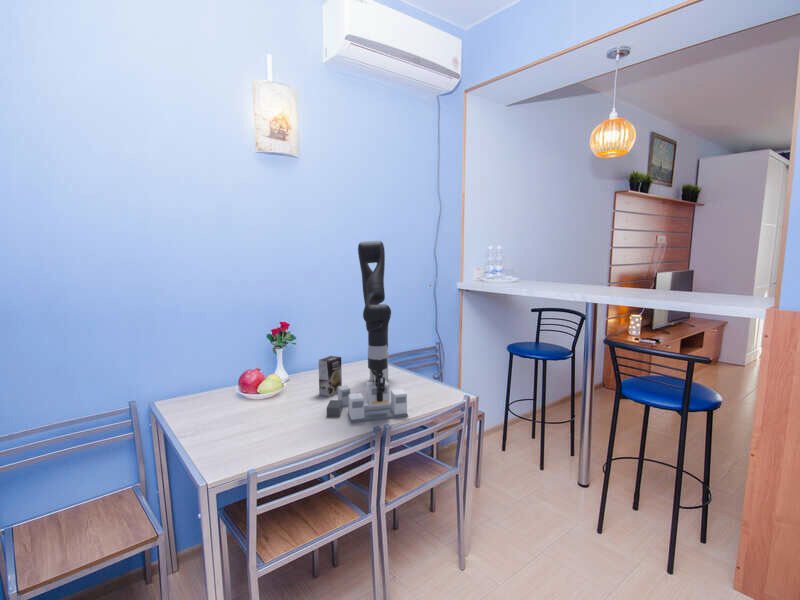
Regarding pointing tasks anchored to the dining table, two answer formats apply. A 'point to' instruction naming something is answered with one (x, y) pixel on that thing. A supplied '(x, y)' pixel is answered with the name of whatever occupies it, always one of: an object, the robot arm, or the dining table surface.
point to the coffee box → (330, 375)
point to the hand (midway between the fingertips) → (378, 398)
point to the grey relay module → (344, 394)
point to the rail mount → (377, 407)
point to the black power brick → (334, 408)
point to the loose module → (373, 395)
